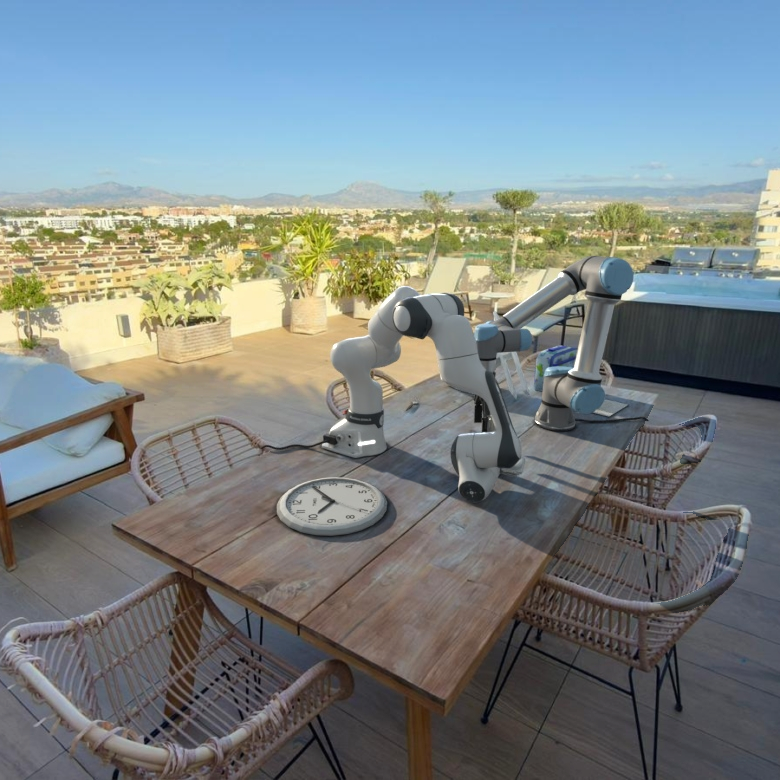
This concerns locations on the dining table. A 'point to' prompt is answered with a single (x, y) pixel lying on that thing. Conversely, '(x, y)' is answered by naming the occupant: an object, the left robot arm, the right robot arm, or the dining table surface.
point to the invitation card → (609, 408)
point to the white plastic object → (503, 359)
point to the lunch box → (553, 362)
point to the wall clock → (331, 506)
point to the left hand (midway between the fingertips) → (494, 450)
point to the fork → (413, 403)
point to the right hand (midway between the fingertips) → (481, 429)
